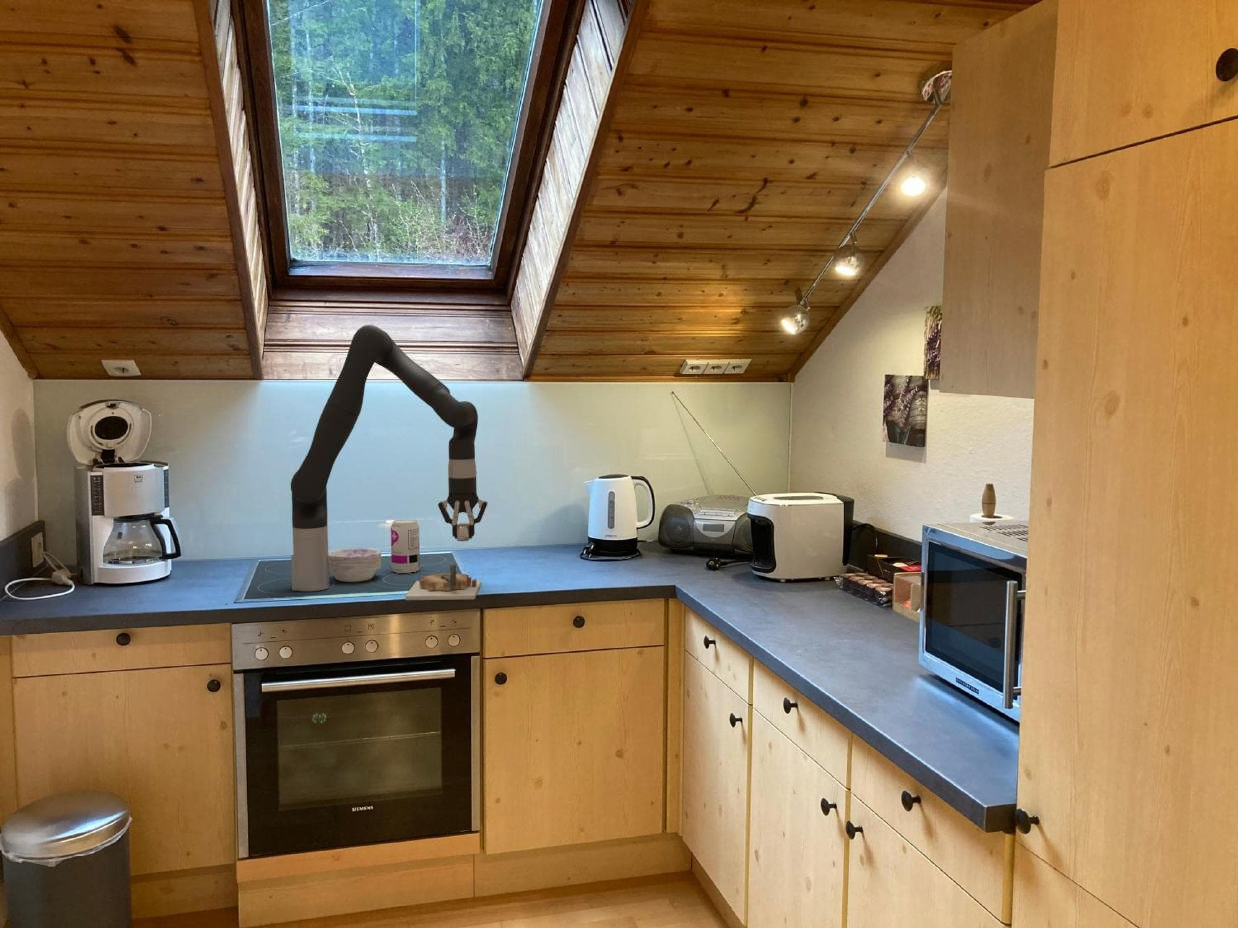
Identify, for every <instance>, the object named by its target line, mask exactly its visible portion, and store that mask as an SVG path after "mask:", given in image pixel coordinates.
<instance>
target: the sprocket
mask: <svg viewBox="0 0 1238 928" xmlns="http://www.w3.org/2000/svg"><path fill="white" fill-rule="evenodd" d="M471 580H472V577H471V576H469V574H465V573H463V574H461V573H457V564H450V565H449V573H432V574H430V575H427V576H426V575H423V576H421V577H420V579H419V580H418V581H420V588H426V589H427V590H431V591H433V590H444V591H450V590H453V589H464V588H466V586H471Z"/></svg>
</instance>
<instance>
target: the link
mask: <svg viewBox="0 0 1238 928" xmlns="http://www.w3.org/2000/svg"><path fill="white" fill-rule="evenodd" d="M457 524H458V525H457V539H456V541H457V542H468V541H470V539H469V522H468V523H467V522H461V523H457Z"/></svg>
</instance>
